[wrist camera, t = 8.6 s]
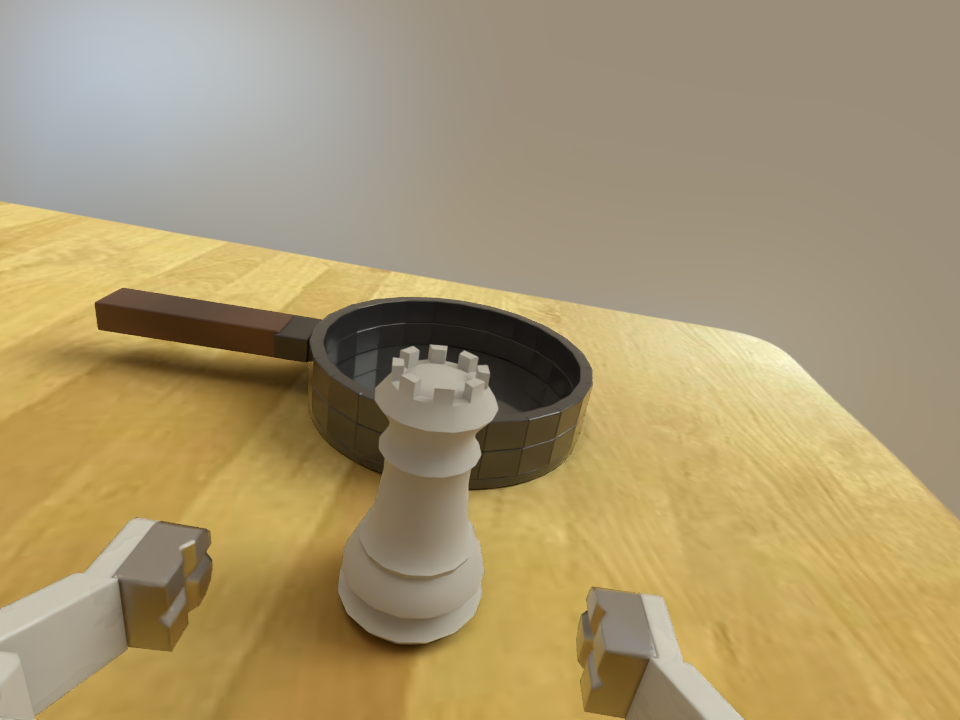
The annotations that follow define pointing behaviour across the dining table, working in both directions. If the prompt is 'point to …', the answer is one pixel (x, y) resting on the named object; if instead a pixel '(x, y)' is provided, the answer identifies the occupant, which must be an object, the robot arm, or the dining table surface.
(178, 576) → the robot arm
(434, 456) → the rook chess piece
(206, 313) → the pan handle
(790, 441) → the dining table surface
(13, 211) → the dining table surface
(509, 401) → the pan
